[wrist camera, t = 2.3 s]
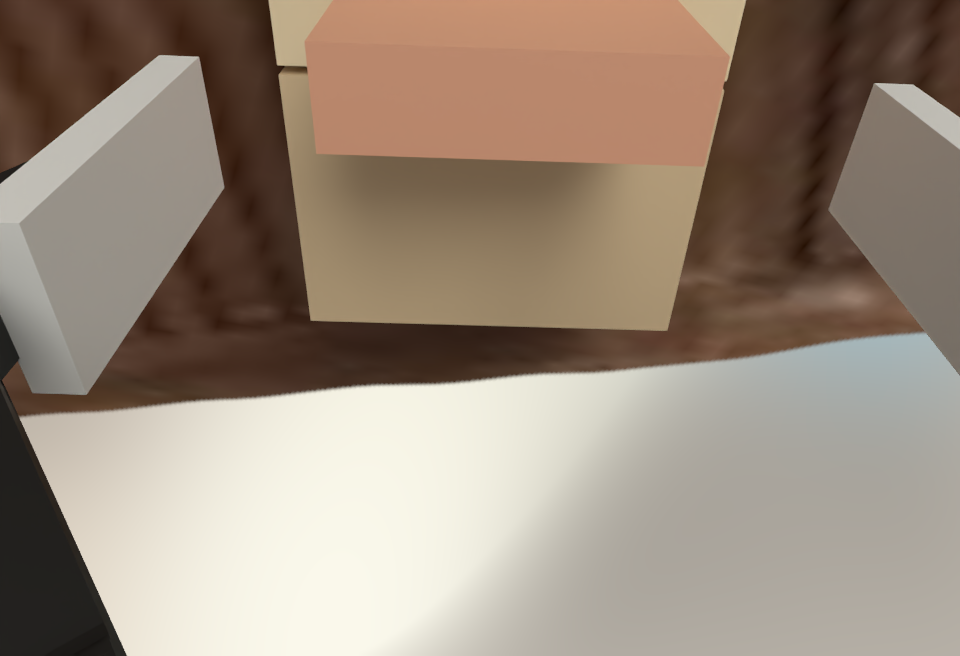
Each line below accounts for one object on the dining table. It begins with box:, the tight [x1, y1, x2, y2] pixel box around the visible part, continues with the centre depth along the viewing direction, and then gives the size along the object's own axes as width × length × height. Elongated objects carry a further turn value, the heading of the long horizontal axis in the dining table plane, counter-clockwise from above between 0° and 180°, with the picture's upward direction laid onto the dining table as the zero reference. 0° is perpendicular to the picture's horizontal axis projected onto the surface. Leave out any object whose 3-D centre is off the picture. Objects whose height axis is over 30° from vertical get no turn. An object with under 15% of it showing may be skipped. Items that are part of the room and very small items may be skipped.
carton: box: [279, 66, 724, 331], centre depth 27 cm, size 14×20×11 cm
